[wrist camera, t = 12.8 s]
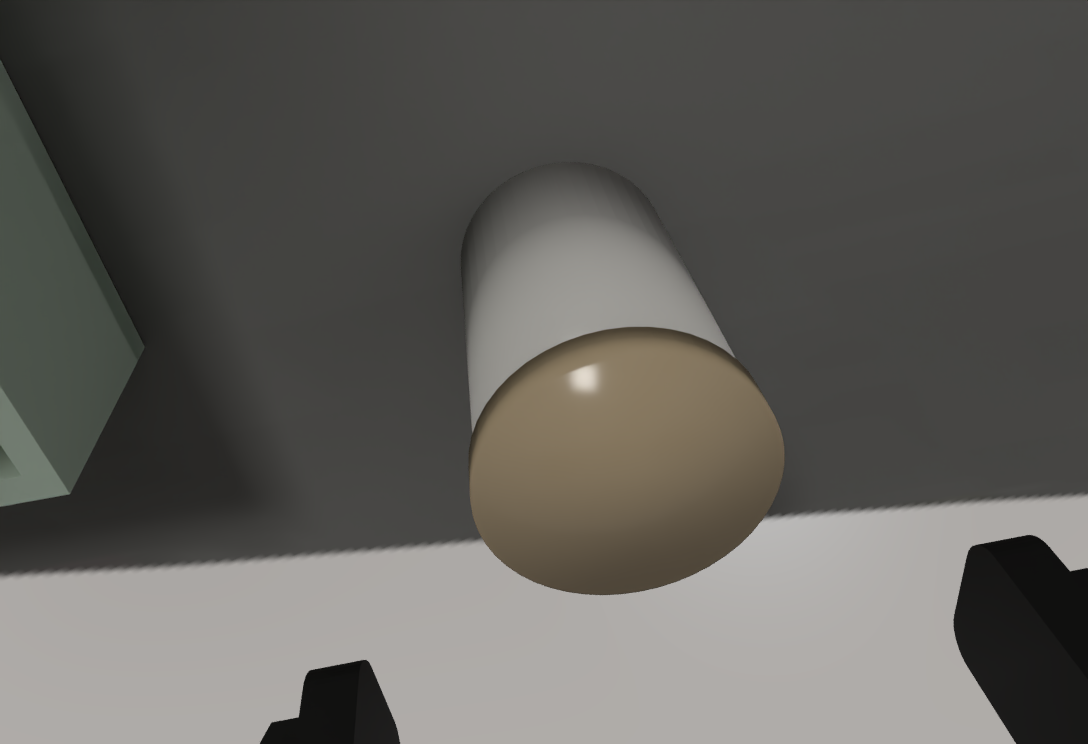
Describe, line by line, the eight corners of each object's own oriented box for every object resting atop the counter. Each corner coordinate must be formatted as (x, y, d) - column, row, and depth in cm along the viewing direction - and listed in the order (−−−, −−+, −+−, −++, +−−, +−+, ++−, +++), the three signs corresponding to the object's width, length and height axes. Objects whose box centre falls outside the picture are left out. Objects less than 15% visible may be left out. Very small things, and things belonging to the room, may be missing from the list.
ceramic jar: (436, 179, 18) (440, 390, 12) (662, 139, 18) (790, 328, 12) (477, 366, 21) (499, 616, 15) (673, 331, 21) (779, 566, 15)
